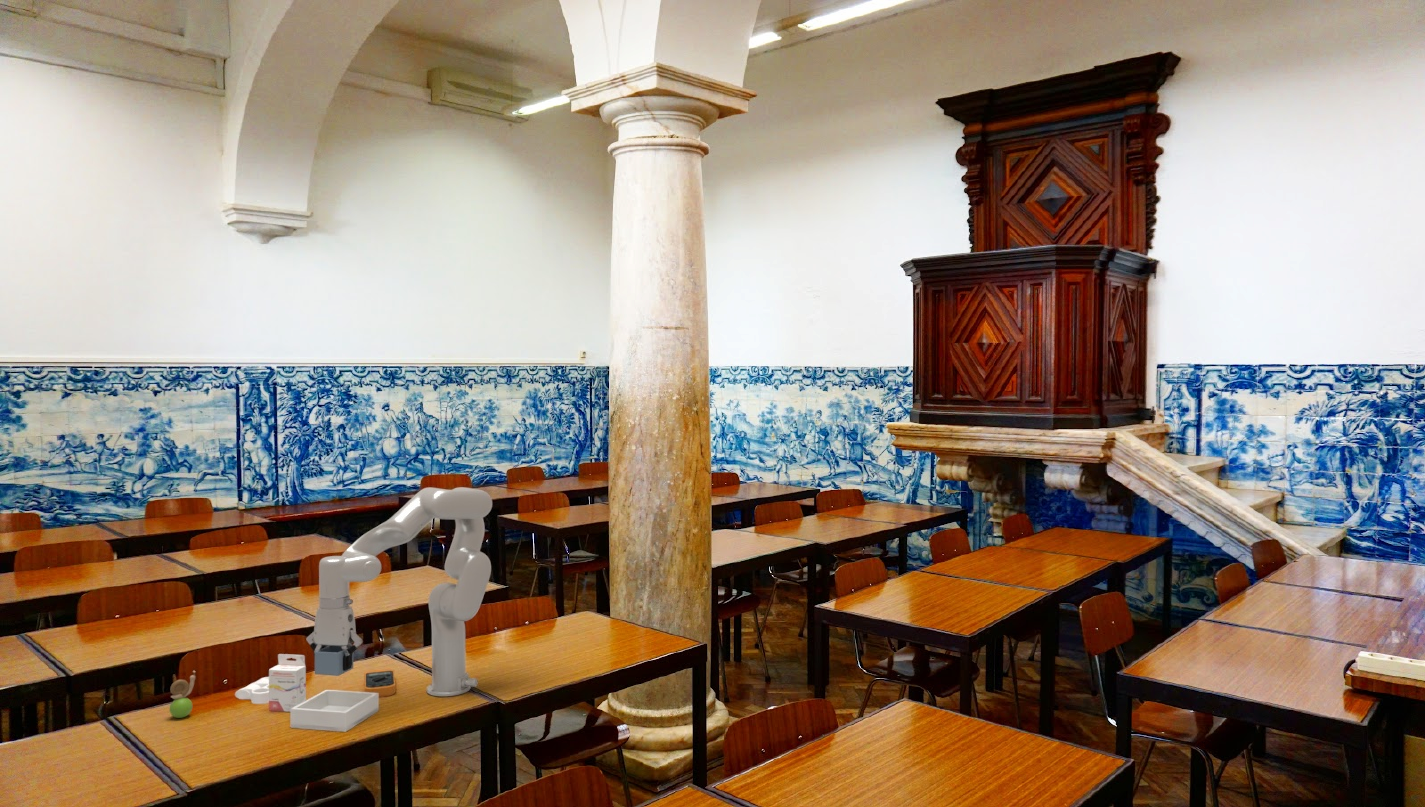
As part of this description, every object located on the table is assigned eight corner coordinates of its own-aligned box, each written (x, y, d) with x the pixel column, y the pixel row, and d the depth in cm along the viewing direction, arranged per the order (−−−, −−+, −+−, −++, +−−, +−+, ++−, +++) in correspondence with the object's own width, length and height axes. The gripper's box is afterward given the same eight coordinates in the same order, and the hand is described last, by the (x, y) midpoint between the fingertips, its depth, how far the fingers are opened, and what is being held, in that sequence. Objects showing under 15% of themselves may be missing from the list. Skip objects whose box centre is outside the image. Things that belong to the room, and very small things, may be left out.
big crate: (378, 710, 261) (378, 693, 261) (345, 731, 246) (345, 712, 246) (326, 707, 264) (326, 689, 264) (290, 727, 249) (290, 708, 249)
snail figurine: (199, 716, 258) (198, 672, 257) (173, 722, 253) (172, 678, 253) (192, 711, 261) (191, 668, 261) (166, 717, 257) (166, 673, 256)
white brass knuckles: (265, 684, 286) (311, 685, 285) (228, 703, 269) (276, 705, 267) (265, 673, 286) (310, 674, 285) (227, 692, 269) (275, 693, 267)
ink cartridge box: (268, 711, 261) (267, 658, 261) (278, 705, 266) (277, 653, 266) (297, 712, 260) (296, 659, 260) (306, 706, 265) (306, 654, 265)
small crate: (353, 668, 257) (353, 646, 257) (338, 675, 250) (338, 653, 250) (330, 666, 259) (330, 644, 259) (314, 674, 252) (314, 651, 252)
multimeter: (364, 700, 271) (364, 688, 271) (364, 681, 288) (364, 670, 288) (395, 696, 274) (395, 685, 274) (394, 678, 291) (394, 667, 291)
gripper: (371, 601, 256) (371, 666, 257) (313, 598, 260) (313, 662, 260) (355, 607, 249) (355, 674, 249) (296, 604, 252) (296, 670, 253)
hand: (334, 667), depth 255 cm, fingers closed on small crate, 7 cm apart
